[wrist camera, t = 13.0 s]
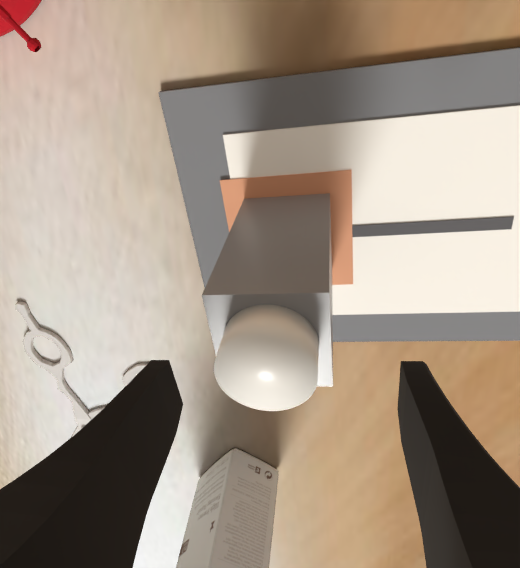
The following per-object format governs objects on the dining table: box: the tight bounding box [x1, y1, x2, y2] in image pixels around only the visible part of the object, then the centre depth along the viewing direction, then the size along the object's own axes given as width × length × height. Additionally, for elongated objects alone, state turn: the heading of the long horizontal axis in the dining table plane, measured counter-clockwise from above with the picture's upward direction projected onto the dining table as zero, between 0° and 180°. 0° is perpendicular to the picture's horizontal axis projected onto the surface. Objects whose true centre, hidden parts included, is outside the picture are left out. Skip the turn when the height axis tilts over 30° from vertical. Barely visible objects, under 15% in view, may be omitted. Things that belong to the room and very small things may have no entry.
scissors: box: [15, 301, 148, 438], centre depth 33 cm, size 11×1×20 cm
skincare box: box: [176, 448, 278, 568], centre depth 29 cm, size 6×4×12 cm
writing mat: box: [159, 47, 520, 342], centre depth 20 cm, size 22×14×1 cm, turn 97°
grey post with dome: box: [202, 193, 333, 411], centre depth 17 cm, size 4×4×10 cm
